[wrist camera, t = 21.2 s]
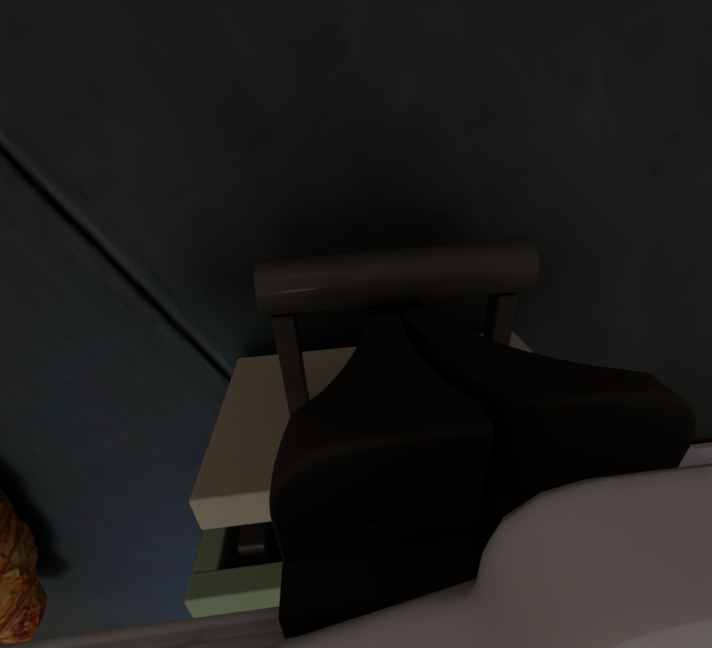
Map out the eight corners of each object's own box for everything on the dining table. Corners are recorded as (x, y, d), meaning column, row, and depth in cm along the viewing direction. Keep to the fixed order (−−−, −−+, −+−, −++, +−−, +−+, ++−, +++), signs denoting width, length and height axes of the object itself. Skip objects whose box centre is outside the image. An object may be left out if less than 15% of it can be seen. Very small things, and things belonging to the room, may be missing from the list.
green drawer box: (240, 397, 16) (182, 602, 9) (507, 369, 17) (643, 538, 10) (290, 578, 23) (279, 765, 16) (472, 552, 24) (535, 722, 17)
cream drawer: (205, 232, 11) (106, 322, 6) (535, 207, 12) (711, 267, 7) (290, 559, 21) (281, 710, 15) (474, 534, 21) (528, 670, 16)
